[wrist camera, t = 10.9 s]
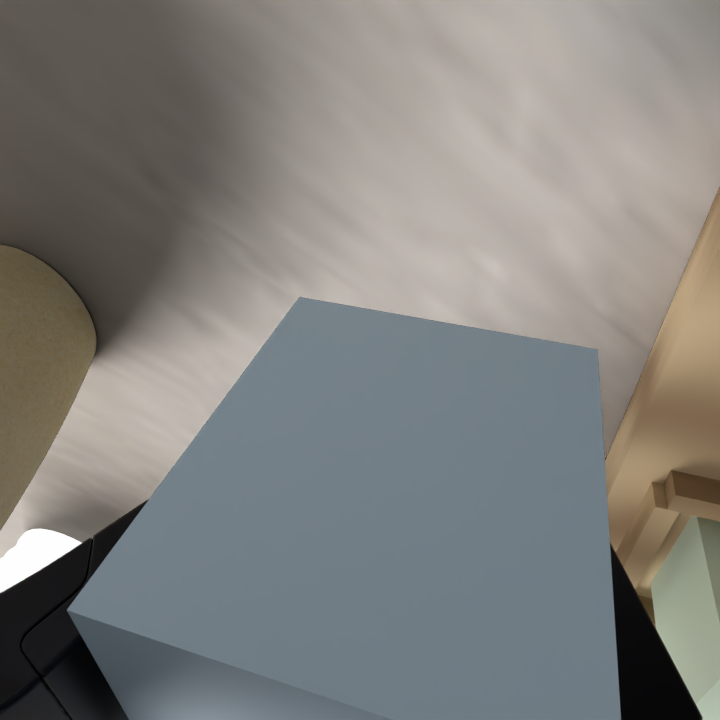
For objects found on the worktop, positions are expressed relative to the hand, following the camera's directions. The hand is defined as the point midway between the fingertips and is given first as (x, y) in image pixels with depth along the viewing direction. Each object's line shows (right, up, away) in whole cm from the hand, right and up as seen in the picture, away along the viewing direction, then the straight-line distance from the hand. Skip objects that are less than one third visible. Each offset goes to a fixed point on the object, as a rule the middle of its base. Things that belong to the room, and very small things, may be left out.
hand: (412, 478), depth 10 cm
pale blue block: (0, +1, +1) cm, 1 cm away
